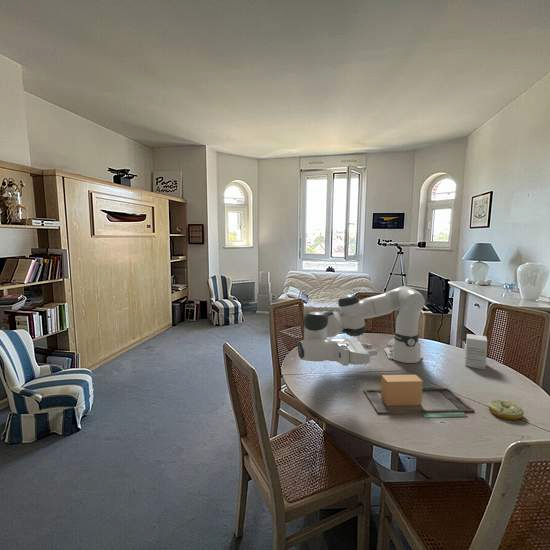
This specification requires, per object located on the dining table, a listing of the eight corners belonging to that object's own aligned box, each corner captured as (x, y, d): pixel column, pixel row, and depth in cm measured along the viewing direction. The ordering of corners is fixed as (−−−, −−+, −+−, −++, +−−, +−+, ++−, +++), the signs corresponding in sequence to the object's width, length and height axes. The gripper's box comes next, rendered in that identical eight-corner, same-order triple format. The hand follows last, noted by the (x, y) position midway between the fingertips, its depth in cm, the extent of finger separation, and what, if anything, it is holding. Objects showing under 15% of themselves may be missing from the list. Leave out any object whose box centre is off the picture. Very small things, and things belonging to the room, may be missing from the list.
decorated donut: (482, 406, 126) (482, 397, 125) (510, 406, 125) (510, 397, 125) (499, 421, 116) (499, 411, 115) (529, 422, 115) (530, 412, 115)
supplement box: (464, 360, 172) (466, 333, 170) (484, 363, 167) (486, 335, 165) (464, 366, 164) (466, 338, 162) (485, 369, 159) (487, 340, 158)
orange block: (381, 398, 132) (381, 375, 131) (414, 397, 133) (415, 374, 131) (386, 405, 126) (387, 381, 125) (421, 405, 127) (422, 381, 125)
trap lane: (361, 387, 141) (361, 386, 141) (444, 386, 142) (444, 384, 142) (380, 418, 117) (380, 416, 117) (479, 416, 118) (479, 414, 118)
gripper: (333, 348, 137) (365, 347, 137) (345, 367, 117) (382, 367, 117) (334, 333, 136) (366, 333, 136) (345, 351, 116) (383, 350, 116)
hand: (374, 349), depth 126 cm, fingers open, 5 cm apart
